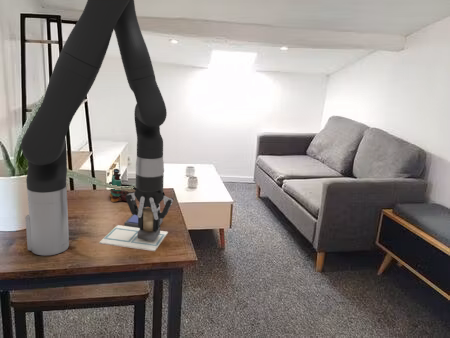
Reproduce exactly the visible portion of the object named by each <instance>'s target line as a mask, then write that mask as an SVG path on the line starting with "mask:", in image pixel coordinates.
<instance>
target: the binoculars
mask: <svg viewBox="0 0 450 338" xmlns="http://www.w3.org/2000/svg"><path fill="white" fill-rule="evenodd" d="M112 173H113V174H112V176H111V181H109V182H108V185H110V184H112V185H117V186H133V187H134V188H133V189H132V190H134V191H127V190H123V189H121V190H115V189H110V188H109V189H110V193H109V197H110V202H112V203H115V202H118V201H125V202H127V200H126V198H125V197H126V195H128V194H129V193H134V192H135V191H136V186H134V185H131V184H127V183H126V184H125V183H123V184H122V179H121V178H120V177H121V176H122V175H121V173H120V169H118V168H114V169H113V171H112Z"/></svg>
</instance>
